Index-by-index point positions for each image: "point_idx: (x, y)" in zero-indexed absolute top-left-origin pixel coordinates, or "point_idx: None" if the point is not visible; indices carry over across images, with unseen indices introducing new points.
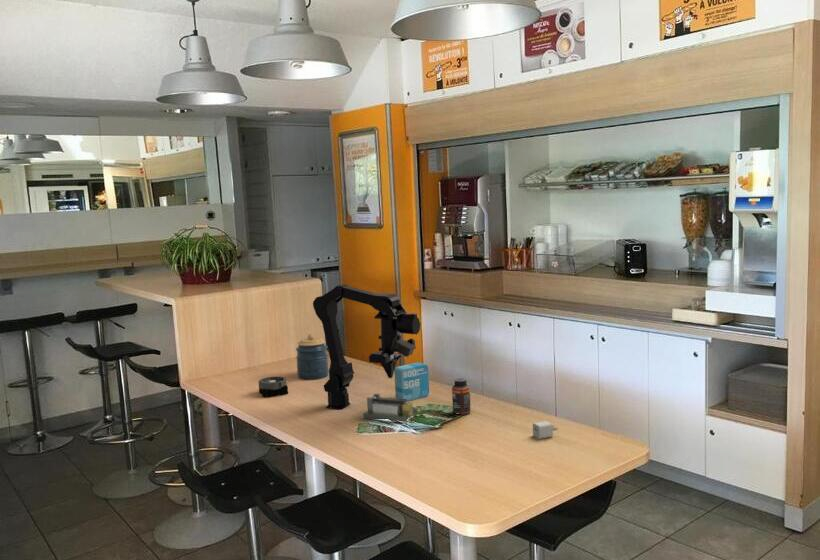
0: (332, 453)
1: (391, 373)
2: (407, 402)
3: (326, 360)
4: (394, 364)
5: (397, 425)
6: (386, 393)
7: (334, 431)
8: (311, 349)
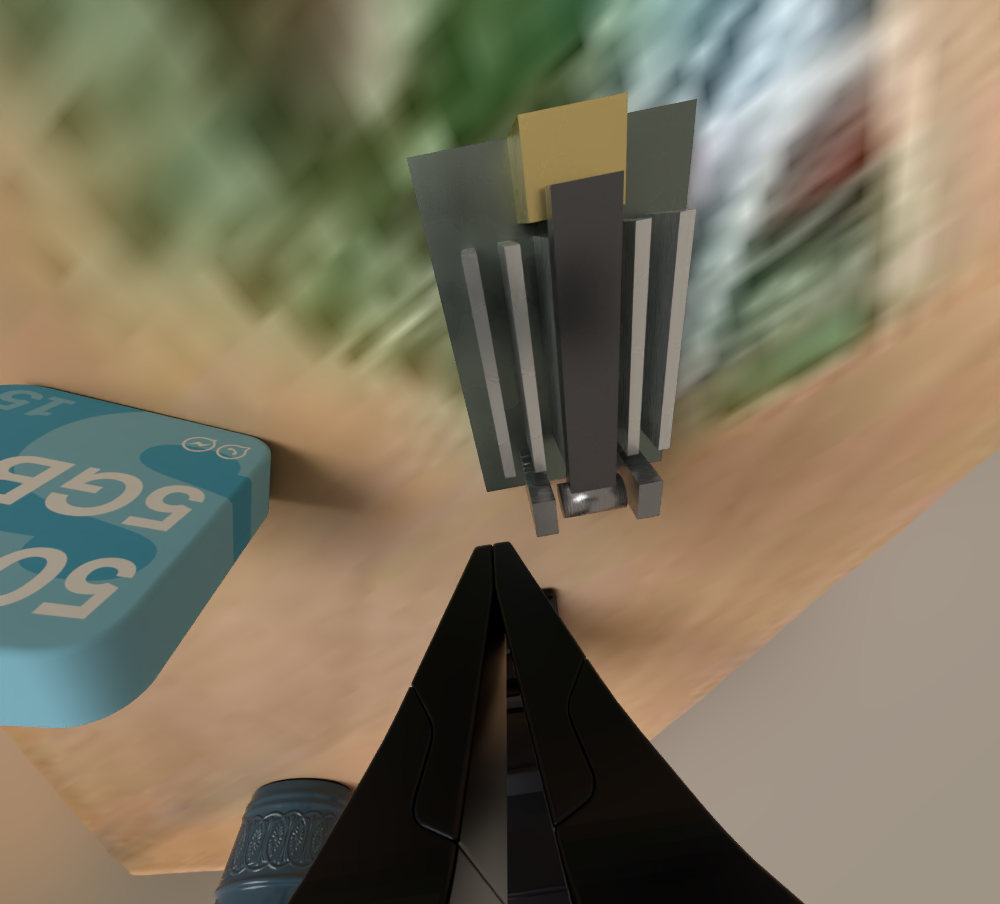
0: None
1: (539, 589)
2: (534, 187)
3: (247, 859)
4: (461, 788)
5: (721, 149)
6: (238, 588)
7: (851, 441)
8: None
